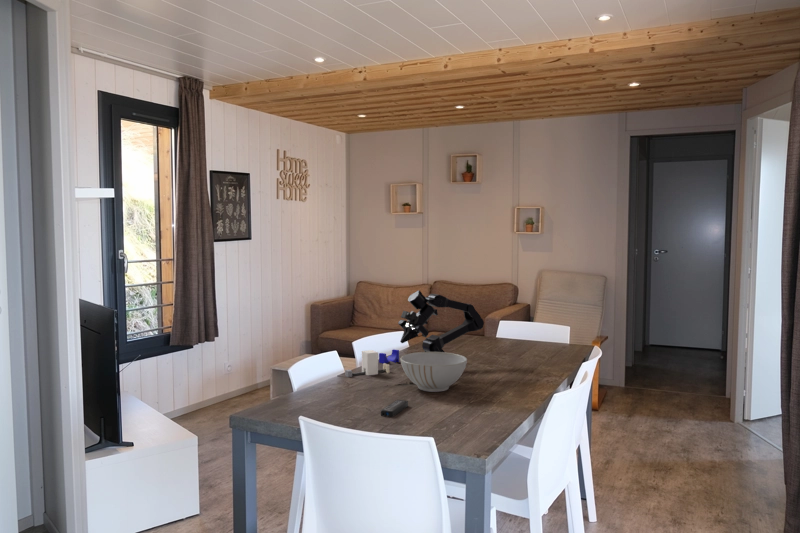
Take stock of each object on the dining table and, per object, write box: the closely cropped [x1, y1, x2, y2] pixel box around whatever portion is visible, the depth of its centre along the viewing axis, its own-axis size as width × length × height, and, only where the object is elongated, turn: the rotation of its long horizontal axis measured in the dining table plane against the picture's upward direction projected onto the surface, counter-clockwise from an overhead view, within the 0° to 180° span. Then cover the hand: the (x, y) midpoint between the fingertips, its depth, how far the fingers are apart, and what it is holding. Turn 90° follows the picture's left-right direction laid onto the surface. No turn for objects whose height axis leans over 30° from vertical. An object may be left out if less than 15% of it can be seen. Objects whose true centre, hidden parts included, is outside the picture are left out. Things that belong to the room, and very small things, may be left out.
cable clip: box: [378, 349, 400, 364], centre depth 289 cm, size 12×4×6 cm, turn 145°
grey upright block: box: [361, 349, 379, 376], centre depth 262 cm, size 5×6×10 cm
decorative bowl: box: [399, 351, 468, 393], centre depth 244 cm, size 27×27×12 cm
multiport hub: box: [380, 399, 409, 418], centre depth 213 cm, size 4×14×2 cm, turn 157°
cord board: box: [344, 363, 391, 378], centre depth 262 cm, size 20×10×5 cm, turn 119°
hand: (401, 342), depth 269 cm, fingers closed
